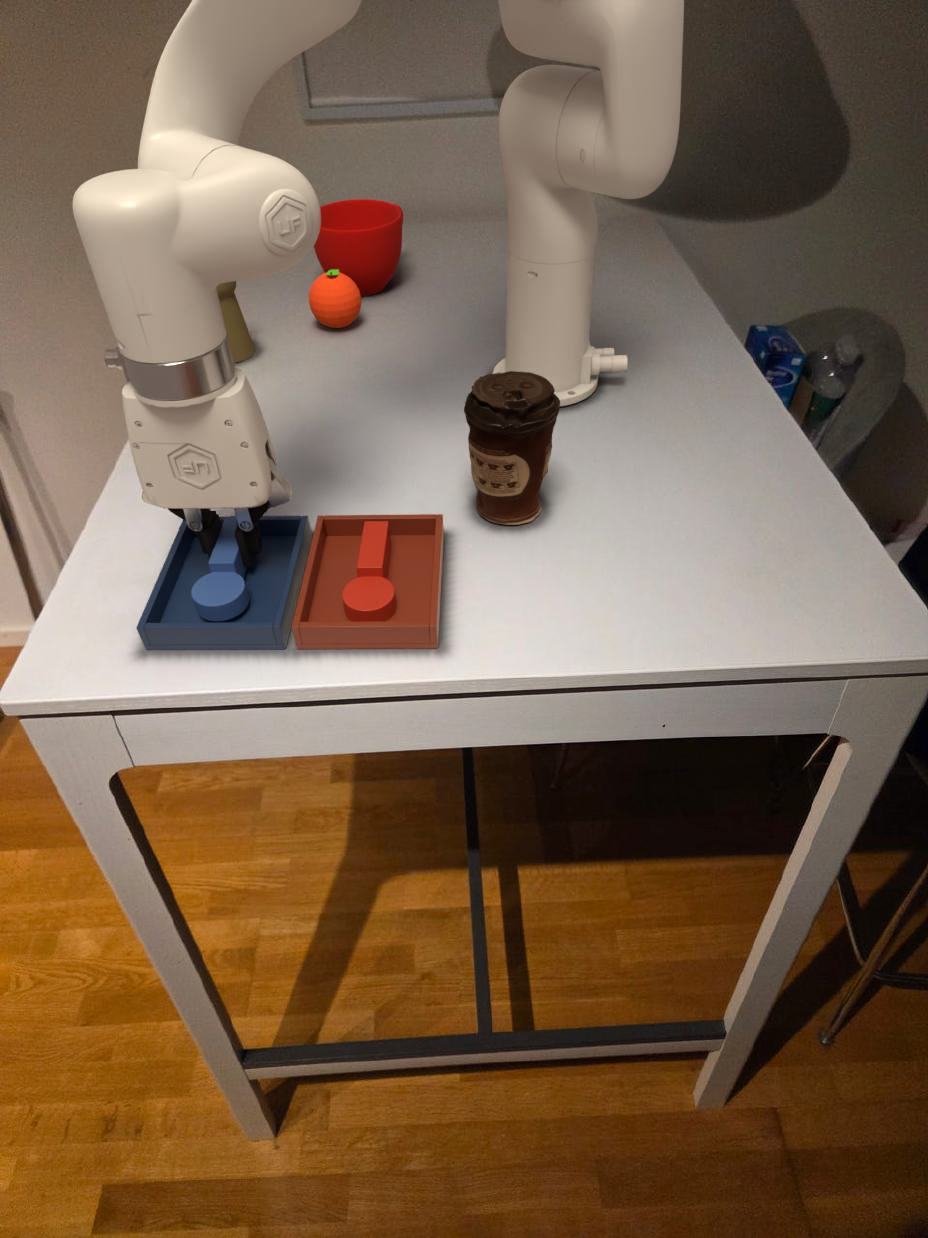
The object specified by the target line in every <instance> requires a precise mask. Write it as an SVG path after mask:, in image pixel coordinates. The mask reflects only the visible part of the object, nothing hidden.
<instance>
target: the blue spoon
mask: <svg viewBox="0 0 928 1238" xmlns="http://www.w3.org/2000/svg"><path fill="white" fill-rule="evenodd" d="M236 527H237V519H236V517H225V519H224V522H223V525H222V529H221V531H220V534H219V537H218V539H217V542H216V545H215V547H214V549H213V552H212V554H211V557H210V560H209V562H208V564H209V567H210V570H211V573H210V574H207V575H205V576H203V577H202V578H200V579H199V580H198V581H197V582H196V583H195V584H194V586H193V588H192V591H191V596H192V598H193V601H194V604H195V607H196V610H197V612H198V614H199V615H200V616H201V617H202V618H204V619H206V620H209V621H225V620H229V619H232V618H234V617H236V616H238V615H239V614H241V613H242V612H243V611H244V610H245V609H246V607H247V606H248V603H249V595H248V592H247V588H246V585H245V581H244V579H243V578H244V575H245V572H246V569H247V567H245V566H244V564H243V560H242V557H241V553H240V550H239V548H238V545H237V541H236V538H235V530H236Z"/></svg>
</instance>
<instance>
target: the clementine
mask: <svg viewBox="0 0 928 1238" xmlns="http://www.w3.org/2000/svg"><path fill="white" fill-rule="evenodd" d="M308 305H309V309H310V311H311V313H312V314H313V316H314V318H315V319H316V320H317V321H318V322H319V323H320V324H322V325H324V326H326V327H329V328H331V329H341V328H346V327H347V326H349V325H351V323H353V322H354V321H355V320H356V319H357V318H358V315H359V314H360V311H361V308H362V296H361V295H360V291H359V289H358V287H357V285H356V284H355V282H354V281H353V280H352V279H351V278H350V277H348V276H346V275H344V274H342V273H340V272H339V269H332V270H329V271H328V272H327V273H325V272H323V273H322V274H321V275H319V276H318V277H317V278H315V280H314V281H313V283H312V284H311V286H310V288H309V293H308Z"/></svg>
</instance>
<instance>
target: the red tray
mask: <svg viewBox="0 0 928 1238" xmlns="http://www.w3.org/2000/svg"><path fill="white" fill-rule="evenodd" d="M365 521H388V522H389V530H390V538H391V550H390V558H389V566H388V574H387V580H389V581H390V582H391V583H392V585H393V586H394V589H395V597H396V610H395V613H394V614H393V616H392V617H391V618H390V619H388V620H387V621H385V622H352V621H350V620H349V619H348V618H347V616H346V614H345V611H344V605H343V599H342V592H343V590H344V588H345V586H346V585H347V584H348V583H349V582H351V581H352V580H354V579H356V578H358V573H357V563H358V557H359V551H360V545H361V539H362V533H363V527H364V522H365ZM444 532H445V531H444V515H443V514H442V513H440V514H439V513H437V514H435V513H434V514H431V513H429V514H427V513H425V514H423V513H421V514H417V513H416V514H332V515H331V514H330V515H329V514H328V515H321V514H319V515H317V517H316V521H315V525H314V530H313V534H312V540H311V544H310V548H309V553H308V557H307V561H306V565H305V569H304V574H303V578H302V582H301V586H300V590H299V595H298V599H297V603H296V607H295V611H294V615H293V620H292V624H291V631H292V636H293V639H294V643H295V647H296V650H348V649H349V650H355V649H357V650H361V649H362V650H363V649H364V650H369V649H370V650H371V649H375V650H376V649H380V650H381V649H383V650H384V649H391V650H392V649H397V650H398V649H439V639H440V638H439V636H440V620H441V619H440V616H441V598H442V581H443V580H442V579H443V560H444V559H443V558H444V538H445V533H444Z"/></svg>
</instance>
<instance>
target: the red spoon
mask: <svg viewBox="0 0 928 1238" xmlns="http://www.w3.org/2000/svg"><path fill="white" fill-rule="evenodd" d="M390 550H391V538H390V530H389V522H388V521H365V522H364V527H363V533H362V539H361V545H360V551H359V557H358V563H357V573H358V578H356V579H354V580H352V581H351V582H349V583H348V584H347V585H346V586H345V588H344V590H343V592H342V599H343V605H344V611H345V614H346V616H347V618H348V619H349V620H350V621H352V622H385V621H387V620H388V619H390V618H391V617H392V616H393V614H394V613H395V610H396V597H395V589H394V586H393V585H392V583H391V582H390V581H389V580H387V574H388V566H389V558H390Z"/></svg>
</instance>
